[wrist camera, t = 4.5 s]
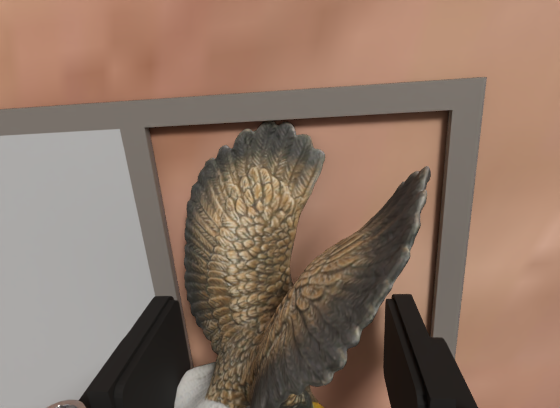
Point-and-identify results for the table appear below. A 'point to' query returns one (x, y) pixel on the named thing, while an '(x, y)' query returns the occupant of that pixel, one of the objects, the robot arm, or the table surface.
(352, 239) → the eagle figurine
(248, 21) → the table surface
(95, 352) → the board
